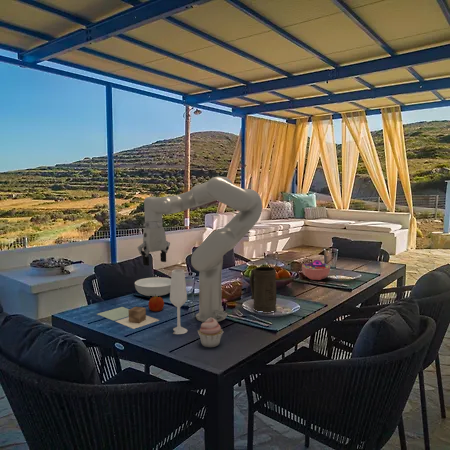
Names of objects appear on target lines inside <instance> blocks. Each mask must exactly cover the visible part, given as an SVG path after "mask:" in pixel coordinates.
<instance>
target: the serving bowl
mask: <svg viewBox="0 0 450 450" xmlns="http://www.w3.org/2000/svg"><path fill="white" fill-rule="evenodd" d="M134 287H135V290H136V291H137V292H138V293H139V294H141V295H143V296H146V297H150V296H152V297H156V296H159V297H162V296H165V295H168V294H170V290H171V278H169V277H158V276H156V277H146V278H140V279H137V280H136V281H134ZM155 294H156V296H155ZM152 297H151V298H152Z"/></svg>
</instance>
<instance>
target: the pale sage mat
mask: <svg viewBox="0 0 450 450" xmlns="http://www.w3.org/2000/svg"><path fill="white" fill-rule="evenodd" d="M130 309H131V308H130ZM130 309H129V308H127V307H124V306H120V307H116V308H112V309H110V310H105V311H103V312H102V311H101V312H99V313H96V316H101V317H103V318H106V319H108V320H111V321H117V320H121V319H124V318H127V317H129V311H128V310H130Z"/></svg>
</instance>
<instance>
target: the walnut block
mask: <svg viewBox="0 0 450 450" xmlns="http://www.w3.org/2000/svg"><path fill="white" fill-rule="evenodd" d="M128 311H129V316H128V317H129V322H133V323H141V322H143V321H144V320H146V315H147V311H146V307H142V306H134V307H131V308H130V310H128Z"/></svg>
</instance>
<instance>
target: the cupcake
mask: <svg viewBox="0 0 450 450" xmlns="http://www.w3.org/2000/svg"><path fill="white" fill-rule="evenodd" d="M223 333H224V331H223V328H222V327H221V325H220V323H219V322H217V321H216V320H215V319H214V318H208V319H207V320H206V322H202V323H201V324H200V328H199V329H198V330H197V334H198V335H199V339H200V343H201V345H202V346H203V347H205V348H216V347H218V346H219V345H220V342H221V338H222V336H223Z"/></svg>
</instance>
